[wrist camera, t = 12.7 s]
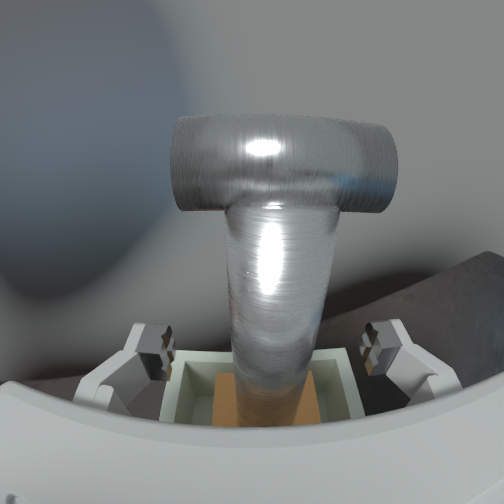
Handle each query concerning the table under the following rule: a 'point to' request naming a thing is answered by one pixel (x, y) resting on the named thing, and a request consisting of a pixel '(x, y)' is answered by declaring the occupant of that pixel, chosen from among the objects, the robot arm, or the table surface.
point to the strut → (278, 240)
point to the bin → (209, 363)
